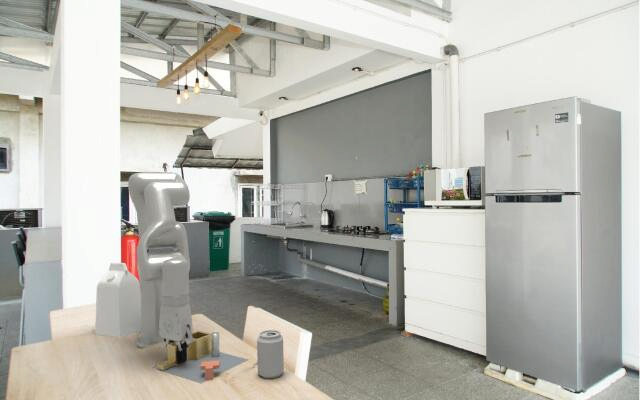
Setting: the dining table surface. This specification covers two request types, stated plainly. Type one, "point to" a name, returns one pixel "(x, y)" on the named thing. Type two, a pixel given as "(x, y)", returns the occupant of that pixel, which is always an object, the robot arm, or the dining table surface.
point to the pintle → (215, 344)
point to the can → (270, 354)
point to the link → (188, 350)
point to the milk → (118, 302)
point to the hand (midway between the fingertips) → (177, 360)
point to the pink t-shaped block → (209, 368)
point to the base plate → (195, 374)
